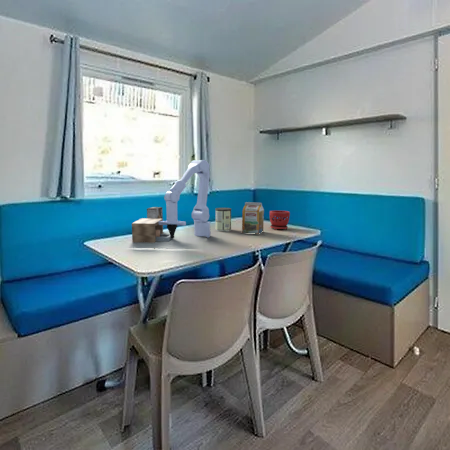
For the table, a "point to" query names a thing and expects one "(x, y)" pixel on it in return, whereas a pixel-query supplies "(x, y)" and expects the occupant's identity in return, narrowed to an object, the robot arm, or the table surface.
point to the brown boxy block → (146, 230)
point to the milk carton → (252, 218)
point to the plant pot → (279, 219)
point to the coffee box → (155, 213)
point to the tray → (163, 237)
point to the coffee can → (223, 219)
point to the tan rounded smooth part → (157, 232)
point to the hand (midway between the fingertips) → (172, 238)
